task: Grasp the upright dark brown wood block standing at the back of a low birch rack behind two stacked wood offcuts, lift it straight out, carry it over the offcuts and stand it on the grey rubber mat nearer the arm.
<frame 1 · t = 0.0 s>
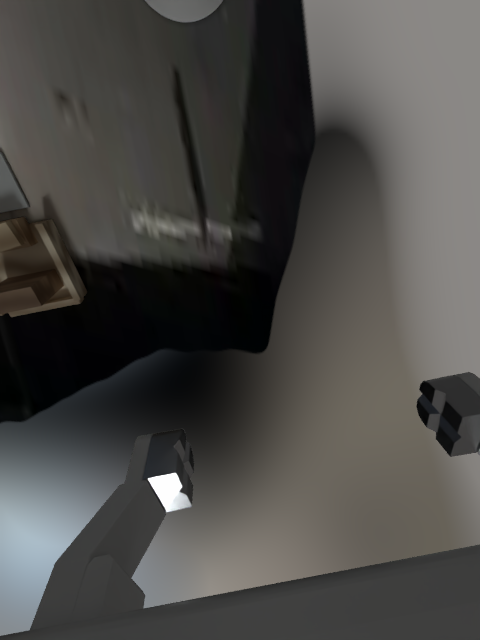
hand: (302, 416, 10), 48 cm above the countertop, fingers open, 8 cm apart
offcut lower: (8, 234, 50), on the countertop, touching offcut upper, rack
dark brown wood block: (36, 282, 55), resting on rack
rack: (28, 266, 54), on the countertop
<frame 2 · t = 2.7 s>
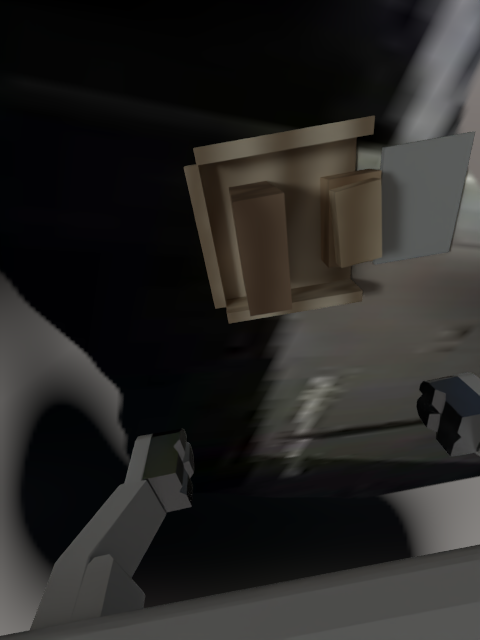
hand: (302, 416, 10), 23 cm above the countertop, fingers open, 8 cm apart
offcut upper: (353, 223, 27), point 3 cm above the countertop, touching offcut lower
mat: (416, 203, 29), on the countertop
offcut lower: (343, 217, 29), on the countertop, touching offcut upper, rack
dark brown wood block: (253, 232, 29), resting on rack
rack: (282, 227, 29), on the countertop
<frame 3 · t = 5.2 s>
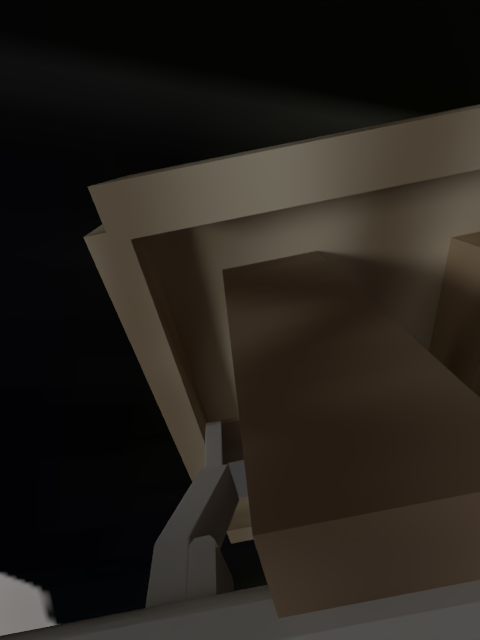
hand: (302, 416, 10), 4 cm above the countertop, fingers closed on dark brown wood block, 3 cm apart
dark brown wood block: (281, 357, 13), resting on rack, touching gripper
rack: (346, 340, 13), on the countertop
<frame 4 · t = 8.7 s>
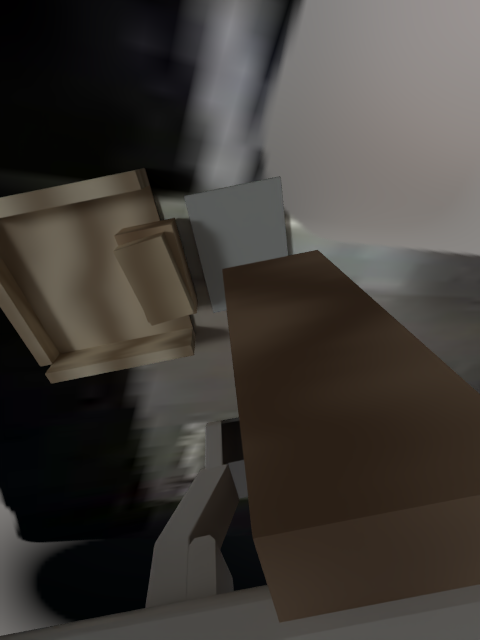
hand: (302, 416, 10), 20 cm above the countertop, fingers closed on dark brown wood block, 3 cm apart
offcut upper: (158, 277, 25), point 3 cm above the countertop, touching offcut lower
mat: (243, 250, 27), on the countertop
offcut lower: (162, 267, 27), on the countertop, touching offcut upper, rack
dark brown wood block: (282, 357, 13), point 16 cm above the countertop, touching gripper
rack: (99, 279, 27), on the countertop
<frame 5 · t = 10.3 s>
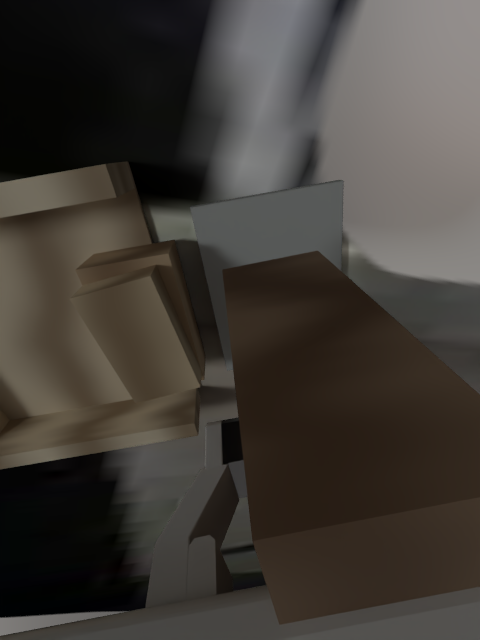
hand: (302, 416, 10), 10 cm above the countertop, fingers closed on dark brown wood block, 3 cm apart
offcut upper: (147, 331, 16), point 3 cm above the countertop, touching offcut lower
mat: (274, 287, 18), on the countertop
offcut lower: (155, 310, 18), on the countertop, touching offcut upper, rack
dark brown wood block: (282, 358, 13), point 7 cm above the countertop, touching gripper
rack: (62, 324, 18), on the countertop
when the fingers open (5 cm above the countertop, at t = 12.0 s): dark brown wood block drops 1 cm, resting on mat.
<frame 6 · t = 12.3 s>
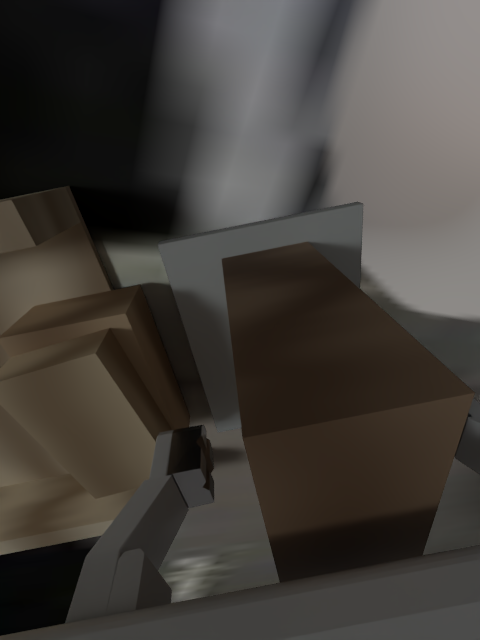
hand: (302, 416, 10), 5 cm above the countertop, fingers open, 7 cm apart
offcut upper: (107, 407, 12), point 3 cm above the countertop, touching offcut lower
mat: (273, 335, 14), on the countertop
offcut lower: (123, 368, 14), on the countertop, touching offcut upper, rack
dark brown wood block: (276, 341, 14), resting on mat
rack: (5, 388, 14), on the countertop
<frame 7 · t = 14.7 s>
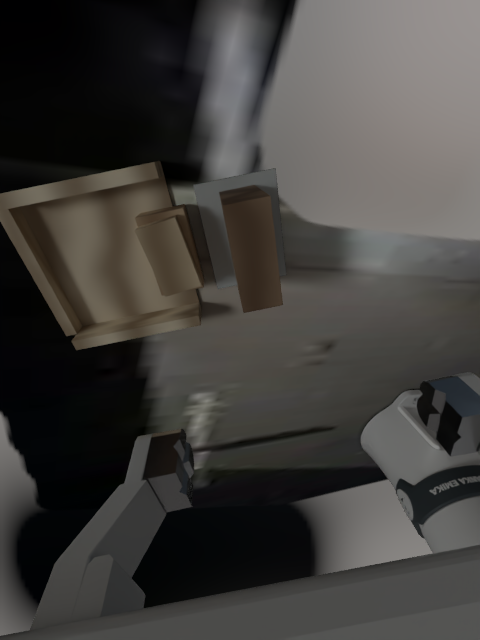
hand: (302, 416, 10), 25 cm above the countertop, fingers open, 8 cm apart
offcut upper: (171, 255, 29), point 3 cm above the countertop, touching offcut lower
mat: (243, 233, 31), on the countertop
offcut lower: (174, 247, 31), on the countertop, touching offcut upper, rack
dark brown wood block: (244, 234, 31), resting on mat
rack: (119, 258, 31), on the countertop
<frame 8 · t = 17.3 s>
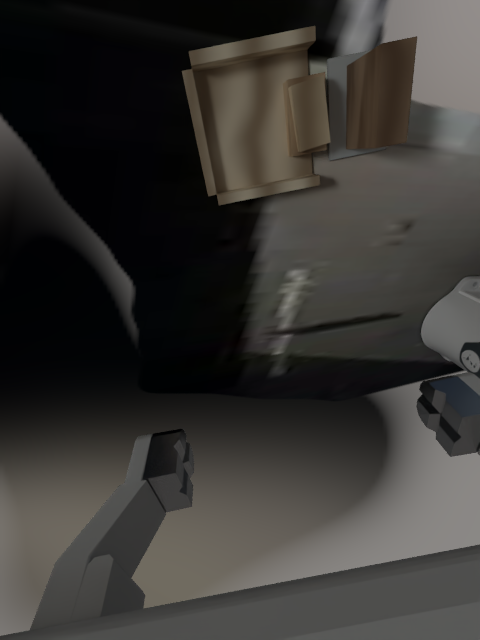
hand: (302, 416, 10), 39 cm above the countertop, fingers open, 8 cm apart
offcut upper: (308, 116, 36), point 3 cm above the countertop, touching offcut lower
mat: (357, 107, 39), on the countertop
offcut lower: (302, 118, 38), on the countertop, touching offcut upper, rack
dark brown wood block: (359, 107, 38), resting on mat
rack: (257, 127, 39), on the countertop
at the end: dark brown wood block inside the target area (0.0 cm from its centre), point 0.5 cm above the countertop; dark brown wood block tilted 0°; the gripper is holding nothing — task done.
